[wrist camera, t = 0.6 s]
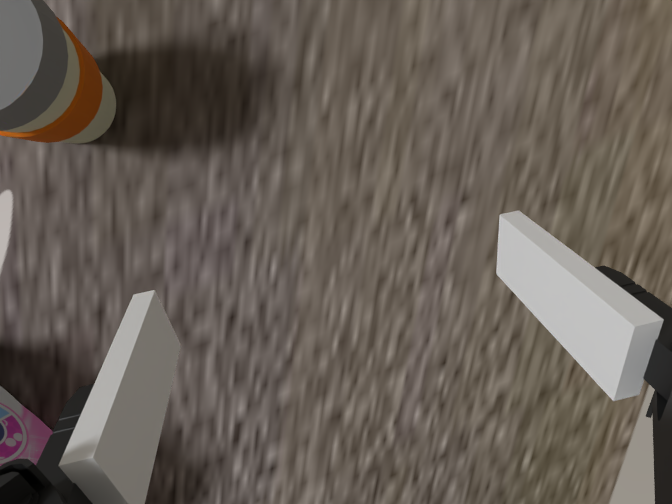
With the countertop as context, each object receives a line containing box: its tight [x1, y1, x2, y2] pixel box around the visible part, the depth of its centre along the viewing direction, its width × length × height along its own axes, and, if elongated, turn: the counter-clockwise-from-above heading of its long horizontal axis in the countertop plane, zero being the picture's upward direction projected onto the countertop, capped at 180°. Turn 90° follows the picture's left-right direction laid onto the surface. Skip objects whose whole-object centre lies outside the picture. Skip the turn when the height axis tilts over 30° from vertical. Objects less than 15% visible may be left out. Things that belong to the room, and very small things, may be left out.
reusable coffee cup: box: [0, 0, 116, 144], centre depth 39 cm, size 13×13×15 cm
